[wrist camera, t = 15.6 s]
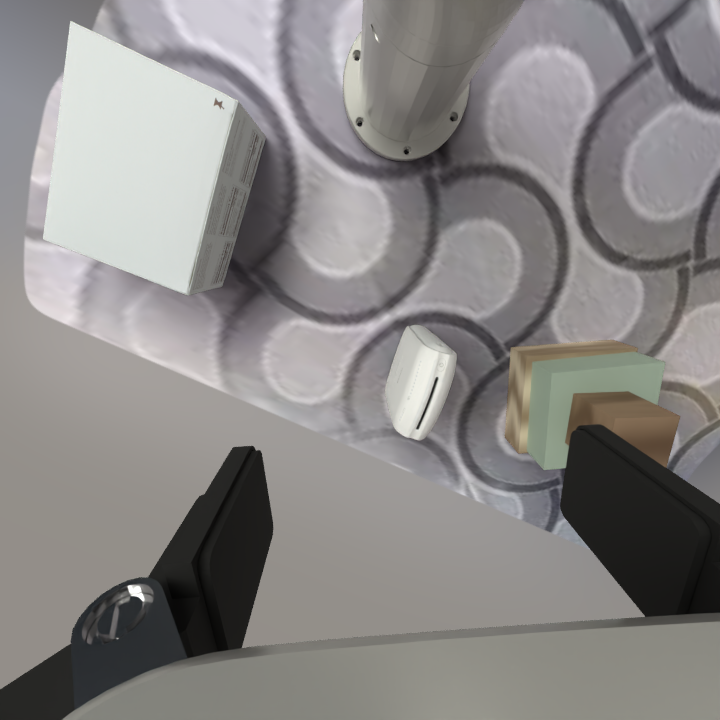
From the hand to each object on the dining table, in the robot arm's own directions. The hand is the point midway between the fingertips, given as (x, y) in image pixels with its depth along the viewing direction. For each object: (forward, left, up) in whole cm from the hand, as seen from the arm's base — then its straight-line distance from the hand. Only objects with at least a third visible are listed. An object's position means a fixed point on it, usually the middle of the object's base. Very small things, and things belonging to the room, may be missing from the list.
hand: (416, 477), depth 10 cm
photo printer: (+7, +5, -32) cm, 34 cm away
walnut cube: (+12, +24, -24) cm, 37 cm away
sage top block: (+12, +25, -28) cm, 40 cm away
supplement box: (-14, -19, -33) cm, 40 cm away
